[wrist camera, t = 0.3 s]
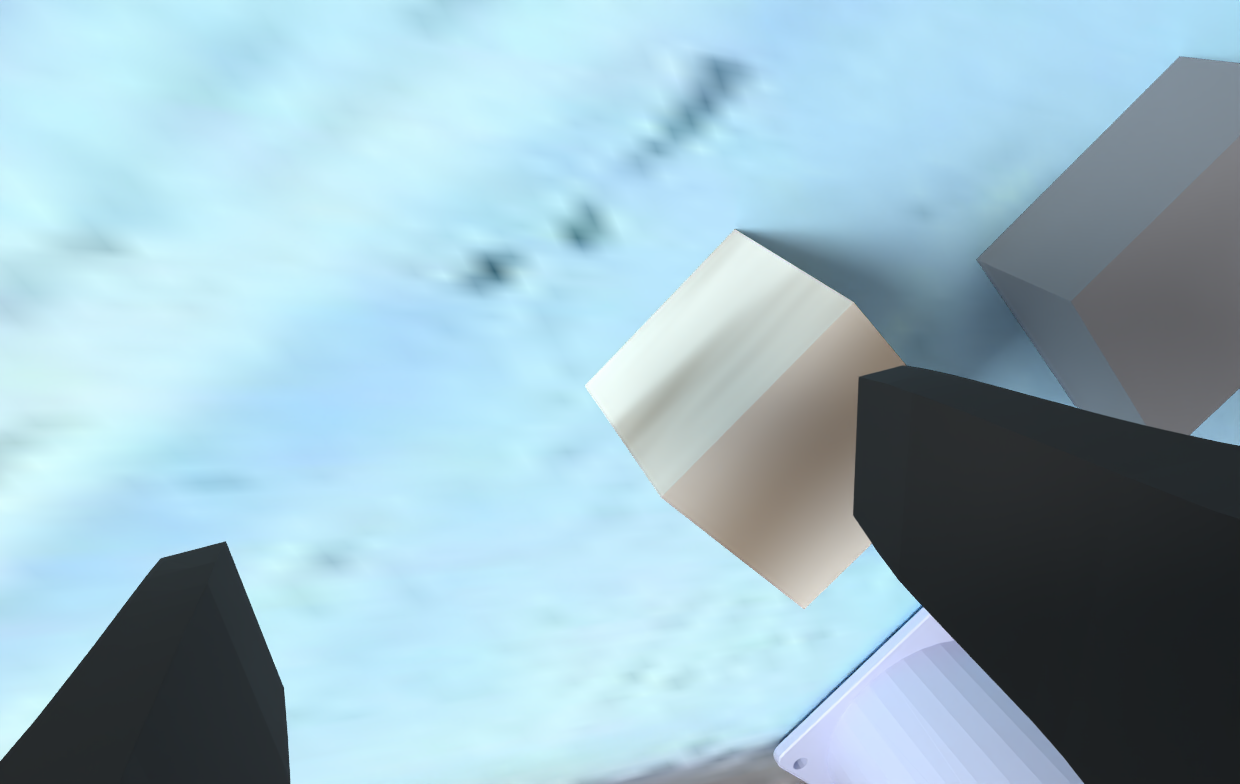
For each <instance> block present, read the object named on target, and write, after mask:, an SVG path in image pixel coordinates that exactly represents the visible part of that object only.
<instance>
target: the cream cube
mask: <svg viewBox="0 0 1240 784" xmlns="http://www.w3.org/2000/svg"><path fill="white" fill-rule="evenodd" d="M902 365H904V366H906V365H905V363H904V362H903V361H902V360H901V358H900V357H899V356H898V355H897V354H896V352H895V351H894V350H893V349H892V348H891V346H890V345H889V344H888V343H887V342H886V340H885V339H884V338H883V337H882V336H881V334H880V333H879V332H878V331H877V330H876V328H875V327H874V326H873V325H872V323H871V322H870V321H869V320H868V319H867V317H866V316H865V315H864V314H863V313H862V311H861V310H860V309H859V308H858V307H857V305H856V304H855V303H854V302H853V301H851V300H849V299H848V298H846V297H845V296H843V295H841V294H840V293H838V292H836V291H835V290H833V289H832V288H830V287H828V286H827V285H825V284H823V283H822V282H820V281H819V280H817V279H815V278H814V277H812V276H810V275H809V274H807V273H805V272H804V271H802V270H801V269H799V268H797V267H796V266H794V265H792V264H791V263H789V262H788V261H786V260H784V259H783V258H781V257H779V256H778V255H776V254H775V253H773V252H771V251H770V250H768V249H766V248H765V247H763V246H761V245H760V244H758V243H757V242H755V241H753V240H752V239H750V238H748V237H747V236H745V235H744V234H742V233H740V232H739V231H737V230H735V229H734V230H733V231H732V233H731V234H730V235H729V236H728V237H727V238H726V239H725V240H724V241H723V242H722V243H721V244H720V245H719V246H718V247H717V248H716V249H715V250H714V251H713V252H712V253H711V254H710V255H709V257H708V258H707V259H706V260H705V261H704V262H703V263H702V264H701V265H700V266H699V267H698V268H697V269H696V270H695V271H694V272H693V273H692V274H691V275H690V276H689V277H688V278H687V279H686V281H685V282H684V283H683V284H682V285H681V286H680V287H679V288H678V289H677V290H676V291H675V292H674V293H673V294H672V295H671V296H670V297H669V298H668V299H667V300H666V301H665V302H664V303H663V305H662V306H661V307H660V308H659V309H658V310H657V311H656V312H655V313H654V314H653V315H652V316H651V317H650V318H649V319H648V320H647V321H646V322H645V323H644V324H643V325H642V326H641V327H640V329H639V330H638V331H637V332H636V333H635V334H634V335H633V336H632V337H631V338H630V339H629V340H628V341H627V342H626V343H625V344H624V345H623V346H622V347H621V348H620V349H619V350H618V351H617V353H616V354H615V355H614V356H613V357H612V358H611V359H610V360H609V361H608V362H607V363H606V364H605V365H604V366H603V367H602V368H601V369H600V370H599V371H598V372H597V373H596V374H595V376H594V377H593V378H592V379H591V380H590V381H589V382H588V383H587V384H586V385H585V387H586V389H587V390H588V391H589V393H590V394H591V396H592V397H593V399H594V400H595V402H596V403H597V405H598V406H599V408H600V409H601V410H602V412H603V413H604V415H605V416H606V418H607V419H608V421H609V422H610V424H611V425H612V426H613V428H614V429H615V431H616V432H617V434H618V435H619V437H620V438H621V440H622V441H623V443H624V444H625V445H626V447H627V448H628V450H629V451H630V453H631V454H632V456H633V457H634V459H635V460H636V462H637V463H638V464H639V466H640V467H641V469H642V470H643V472H644V473H645V475H646V476H647V478H648V479H649V481H650V482H651V483H652V485H653V486H654V488H655V489H656V491H657V492H658V494H659V495H660V497H661V498H662V499H664V500H665V501H666V502H668V503H669V504H670V505H671V506H673V507H674V508H675V509H677V510H678V511H679V512H680V513H682V514H683V515H684V516H685V517H687V518H688V519H689V520H691V521H692V522H693V523H694V524H696V525H697V526H698V527H700V528H701V529H702V530H703V531H705V532H706V533H707V534H708V535H710V536H711V537H712V538H714V539H715V540H716V541H717V542H719V543H720V544H721V545H723V546H724V547H725V548H726V549H728V550H729V551H730V552H732V553H733V554H734V555H735V556H737V557H738V558H739V559H740V560H742V561H743V562H744V563H746V564H747V565H748V566H749V567H751V568H752V569H753V570H755V571H756V572H757V573H758V574H760V575H761V576H762V577H763V578H765V579H766V580H767V581H769V582H770V583H771V584H772V585H774V586H775V587H776V588H778V589H779V590H780V591H781V592H783V593H784V594H785V595H787V596H788V597H789V598H790V599H792V600H793V601H794V602H795V603H797V604H798V605H799V606H801V607H802V608H803V609H805V608H806V607H807V606H808V605H809V604H810V603H811V602H812V601H813V600H814V599H815V598H816V597H817V596H818V595H819V594H821V593H822V592H823V591H824V590H825V589H826V588H827V587H828V586H829V585H830V584H831V583H832V582H833V581H834V580H835V579H836V578H837V577H838V576H839V575H840V574H841V573H842V572H843V571H844V570H845V569H846V568H847V567H848V566H849V565H850V564H851V563H852V562H853V561H855V560H856V559H857V558H858V557H859V556H860V555H861V554H862V553H863V552H864V551H865V550H866V549H867V548H868V547H869V546H870V545H871V544H872V543H871V541H870V540H869V538H868V537H867V535H866V534H865V532H864V531H863V529H862V528H861V527H860V525H859V524H858V522H857V521H856V519H855V518H854V516H853V501H854V477H855V452H856V428H857V403H858V378H859V377H860V376H864V375H867V374H871V373H875V372H879V371H883V370H887V369H890V368H894V367H898V366H902Z"/></svg>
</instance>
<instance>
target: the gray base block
mask: <svg viewBox="0 0 1240 784" xmlns="http://www.w3.org/2000/svg"><path fill="white" fill-rule="evenodd" d="M976 260H977V261H978V263H979V264H980V266H981V267H982V269H983V270H984V272H985V273H986V275H987V276H988V278H989V279H990V281H991V282H992V284H993V285H994V287H995V288H996V290H997V291H998V293H999V294H1000V295H1001V297H1002V298H1003V300H1004V301H1005V303H1006V304H1007V306H1008V307H1009V309H1010V310H1011V312H1012V313H1013V315H1014V316H1015V318H1016V319H1017V321H1018V322H1019V324H1020V325H1021V327H1022V328H1023V330H1024V331H1025V333H1026V334H1027V335H1028V337H1029V338H1030V340H1031V341H1032V343H1033V344H1034V346H1035V347H1036V349H1037V350H1038V352H1039V353H1040V355H1041V356H1042V358H1043V359H1044V361H1045V362H1046V364H1047V365H1048V367H1049V368H1050V370H1051V371H1052V373H1053V374H1054V375H1055V377H1056V378H1057V380H1058V381H1059V383H1060V384H1061V386H1062V387H1063V389H1064V390H1065V392H1066V393H1067V395H1068V396H1069V398H1070V399H1071V401H1072V402H1073V404H1074V405H1075V406H1077V407H1078V408H1080V409H1082V410H1086V411H1090V412H1094V413H1098V414H1102V415H1105V416H1109V417H1113V418H1117V419H1121V420H1125V421H1129V422H1133V423H1137V424H1141V425H1146V426H1150V427H1154V428H1159V429H1163V430H1168V431H1172V432H1176V433H1181V434H1185V435H1190V434H1191V433H1192V432H1193V431H1195V430H1196V429H1197V428H1198V427H1199V426H1200V425H1201V424H1202V423H1203V422H1204V421H1205V420H1206V419H1207V418H1208V417H1209V416H1210V415H1212V414H1213V413H1214V412H1215V411H1216V410H1217V409H1218V408H1219V407H1220V406H1221V405H1222V404H1223V403H1224V402H1225V401H1226V400H1227V399H1229V398H1230V397H1231V396H1232V395H1233V394H1234V393H1235V392H1236V391H1237V390H1238V389H1239V388H1240V63H1233V62H1224V61H1215V60H1206V59H1197V58H1188V57H1179V58H1178V59H1177V60H1176V61H1175V62H1174V63H1173V64H1172V65H1171V66H1170V67H1169V68H1168V69H1167V70H1166V71H1165V72H1164V73H1163V74H1162V75H1161V76H1160V77H1159V78H1158V79H1157V80H1156V81H1155V82H1154V83H1153V84H1152V85H1151V86H1150V87H1149V88H1148V89H1147V90H1146V91H1145V92H1144V93H1143V94H1142V95H1141V96H1140V97H1139V98H1138V99H1137V100H1136V101H1135V102H1134V103H1133V104H1132V105H1131V106H1130V107H1129V108H1128V109H1127V110H1126V111H1125V112H1124V113H1123V114H1122V115H1121V116H1120V117H1119V118H1118V119H1117V120H1116V121H1115V122H1114V123H1113V124H1112V125H1111V126H1110V127H1109V128H1108V129H1107V130H1106V131H1105V132H1104V133H1103V134H1102V135H1101V136H1100V137H1099V138H1098V139H1097V140H1096V141H1095V142H1094V143H1093V144H1092V145H1091V146H1090V147H1089V148H1088V149H1087V150H1086V151H1085V152H1083V153H1082V154H1081V155H1080V156H1079V157H1078V158H1077V159H1076V160H1075V161H1074V162H1073V163H1072V164H1071V165H1070V166H1069V167H1068V168H1067V169H1066V170H1065V171H1064V172H1063V173H1062V174H1061V175H1060V176H1059V177H1058V178H1057V179H1056V180H1055V181H1054V182H1053V183H1052V184H1051V185H1050V186H1049V187H1048V188H1047V189H1046V190H1045V191H1044V192H1043V193H1042V194H1041V195H1040V196H1039V197H1038V198H1037V199H1036V200H1035V201H1034V202H1033V203H1032V204H1031V205H1030V206H1029V207H1028V208H1027V209H1026V210H1025V211H1024V212H1023V213H1022V214H1021V215H1020V216H1019V217H1018V218H1017V219H1016V220H1015V221H1014V222H1013V223H1012V224H1011V225H1010V226H1009V227H1008V228H1007V229H1006V230H1005V231H1004V232H1003V233H1002V234H1001V235H1000V236H999V237H998V238H997V239H996V240H995V241H994V242H993V243H992V244H991V245H990V246H989V247H988V248H987V249H986V250H985V251H984V252H983V253H982V254H981V255H980V256H979V257H978V258H977V259H976Z"/></svg>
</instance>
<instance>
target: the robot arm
mask: <svg viewBox="0 0 1240 784" xmlns="http://www.w3.org/2000/svg"><path fill="white" fill-rule="evenodd" d="M853 516H854V518H855V519H856V521H857V522H858V524H859V525H860V527H861V528H862V529H863V531H864V532H865V534H866V535H867V537H868V538H869V540H870V541H871V543H872V544H873V546H874V547H875V549H876V550H877V552H878V553H879V554H880V556H881V557H882V558H883V560H884V561H885V562H886V564H887V565H888V566H889V568H890V569H891V570H892V572H893V573H894V574H895V576H896V577H897V579H898V580H899V581H900V582H901V583H902V584H903V585H904V586H905V588H906V589H907V590H908V591H909V592H910V593H911V594H912V595H913V596H914V597H915V599H916V600H917V601H918V602H919V603H920V604H921V605H922V606H923V608H922V609H921V610H920V611H919V612H917V613H916V614H915V615H914V616H913V617H912V618H911V619H910V620H909V621H908V622H907V623H906V624H905V625H904V626H903V627H902V628H901V629H900V630H899V631H898V632H896V633H895V634H894V635H893V636H892V637H891V638H890V639H889V640H888V641H887V642H886V643H885V644H884V645H883V646H882V647H881V648H880V649H879V650H878V651H877V652H875V653H874V654H873V655H872V656H871V657H870V658H869V659H868V660H867V661H866V662H865V663H864V664H863V665H862V666H861V667H860V668H859V669H858V670H857V671H856V672H854V673H853V674H852V675H851V676H850V677H849V678H848V679H847V680H846V681H845V682H844V683H843V684H842V685H841V686H840V687H839V688H838V689H837V690H836V691H835V692H833V693H832V694H831V695H830V696H829V697H828V698H827V699H826V700H825V701H824V702H823V703H822V704H821V705H820V706H819V707H818V708H817V709H816V710H815V711H814V712H812V713H811V714H810V715H809V716H808V717H807V718H806V719H805V720H804V721H803V722H802V723H801V724H800V725H799V726H798V727H797V728H796V729H795V730H794V731H793V732H791V733H790V734H789V735H788V736H787V737H786V738H785V739H784V740H783V741H782V742H781V743H780V744H779V745H778V746H777V747H776V749H775V751H774V759H775V761H776V762H777V764H778V765H779V767H780V768H782V769H784V770H785V771H787V772H789V773H790V774H792V775H794V776H796V777H797V778H799V779H801V780H802V781H804V782H806V783H808V784H1240V446H1237V445H1232V444H1227V443H1222V442H1217V441H1212V440H1207V439H1203V438H1198V437H1194V436H1190V435H1185V434H1181V433H1176V432H1172V431H1168V430H1163V429H1159V428H1154V427H1150V426H1146V425H1141V424H1137V423H1133V422H1129V421H1125V420H1121V419H1117V418H1113V417H1109V416H1105V415H1102V414H1098V413H1094V412H1090V411H1086V410H1082V409H1079V408H1075V407H1071V406H1067V405H1064V404H1060V403H1056V402H1052V401H1049V400H1045V399H1041V398H1038V397H1034V396H1030V395H1027V394H1023V393H1019V392H1016V391H1012V390H1008V389H1004V388H1001V387H997V386H993V385H990V384H986V383H982V382H978V381H975V380H971V379H967V378H963V377H959V376H955V375H951V374H946V373H942V372H937V371H933V370H928V369H923V368H917V367H911V366H904V365H902V366H898V367H894V368H890V369H887V370H883V371H879V372H875V373H871V374H867V375H864V376H860V377H859V378H858V403H857V428H856V452H855V477H854V501H853ZM0 784H290V768H289V751H288V735H287V722H286V709H285V696H284V687H283V685H282V682H281V680H280V677H279V675H278V672H277V670H276V667H275V665H274V662H273V659H272V657H271V654H270V652H269V649H268V647H267V644H266V642H265V639H264V637H263V634H262V632H261V629H260V627H259V624H258V622H257V619H256V617H255V614H254V611H253V609H252V606H251V604H250V601H249V599H248V596H247V594H246V591H245V589H244V586H243V584H242V581H241V579H240V576H239V574H238V571H237V569H236V566H235V563H234V561H233V558H232V556H231V553H230V551H229V548H228V546H227V543H226V542H222V543H218V544H214V545H210V546H207V547H203V548H199V549H195V550H191V551H187V552H183V553H180V554H176V555H172V556H168V557H164V558H161V559H160V560H159V561H158V562H157V564H156V565H155V566H154V567H153V568H152V570H151V571H150V572H149V573H148V575H147V576H146V577H145V578H144V580H143V581H142V582H141V584H140V585H139V586H138V588H137V589H136V590H135V592H134V593H133V594H132V595H131V597H130V598H129V599H128V601H127V602H126V603H125V605H124V606H123V607H122V609H121V610H120V611H119V613H118V614H117V615H116V617H115V618H114V619H113V621H112V622H111V623H110V625H109V626H108V627H107V629H106V630H105V631H104V633H103V634H102V635H101V637H100V638H99V639H98V641H97V642H96V643H95V645H94V646H93V647H92V648H91V650H90V651H89V652H88V654H87V655H86V656H85V657H84V659H83V660H82V661H81V663H80V664H79V665H78V666H77V668H76V669H75V670H74V672H73V673H72V674H71V675H70V677H69V678H68V679H67V680H66V682H65V683H64V684H63V686H62V687H61V688H60V689H59V691H58V692H57V693H56V695H55V696H54V697H53V698H52V700H51V701H50V702H49V704H48V705H47V706H46V707H45V709H44V710H43V711H42V713H41V714H40V715H39V716H38V717H37V719H36V720H35V721H34V722H33V724H32V725H31V726H30V727H29V728H28V729H27V731H26V732H25V733H24V734H23V735H22V736H21V738H20V739H19V740H18V741H17V742H16V744H15V745H14V746H13V747H12V748H11V749H10V751H9V752H8V753H7V754H6V755H5V756H4V758H3V759H2V760H1V761H0Z"/></svg>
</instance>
